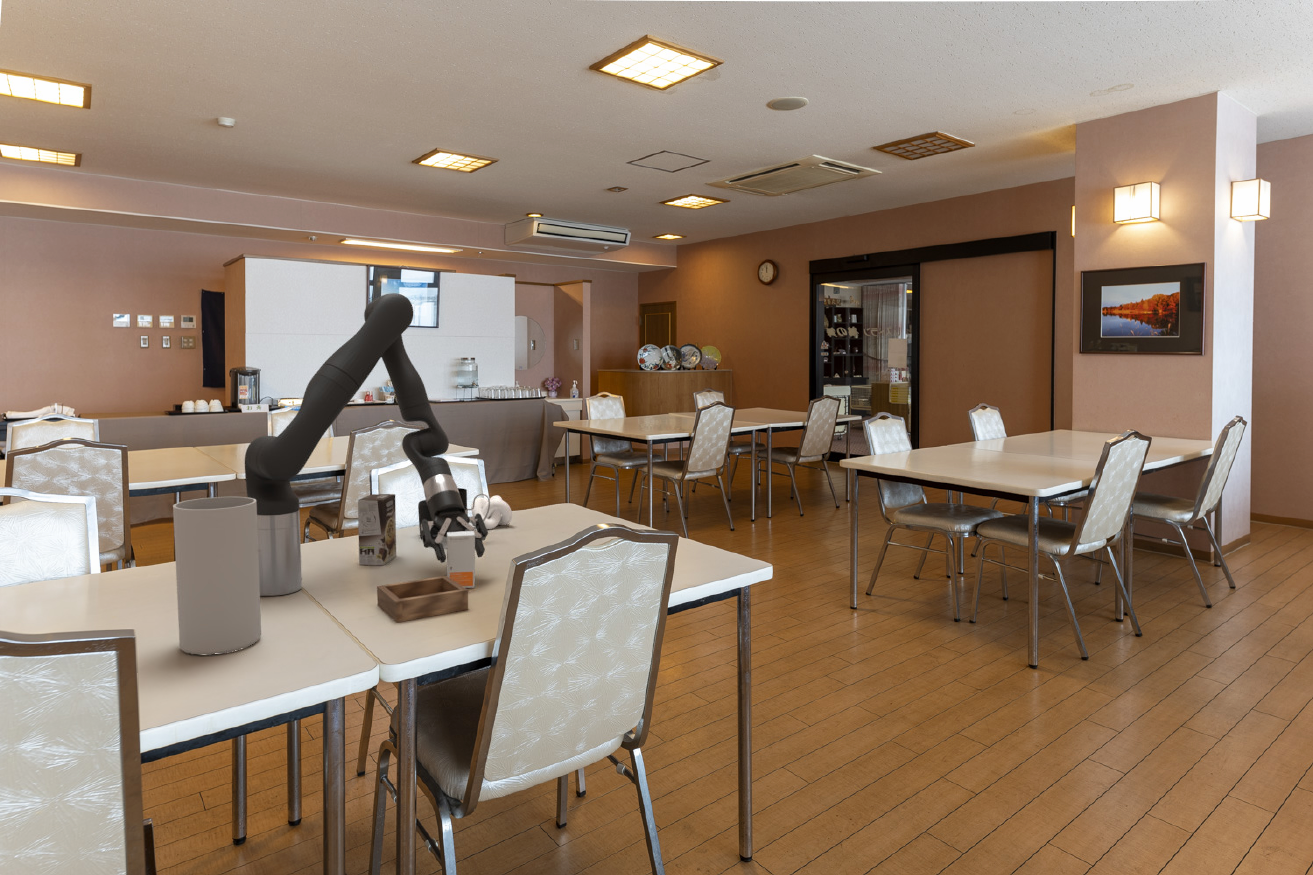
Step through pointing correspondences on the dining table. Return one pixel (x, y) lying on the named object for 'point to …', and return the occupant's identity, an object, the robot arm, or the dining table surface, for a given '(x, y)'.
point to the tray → (422, 598)
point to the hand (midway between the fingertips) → (462, 557)
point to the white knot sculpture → (492, 511)
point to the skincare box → (461, 558)
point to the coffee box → (377, 529)
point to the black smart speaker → (426, 517)
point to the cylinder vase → (217, 574)
